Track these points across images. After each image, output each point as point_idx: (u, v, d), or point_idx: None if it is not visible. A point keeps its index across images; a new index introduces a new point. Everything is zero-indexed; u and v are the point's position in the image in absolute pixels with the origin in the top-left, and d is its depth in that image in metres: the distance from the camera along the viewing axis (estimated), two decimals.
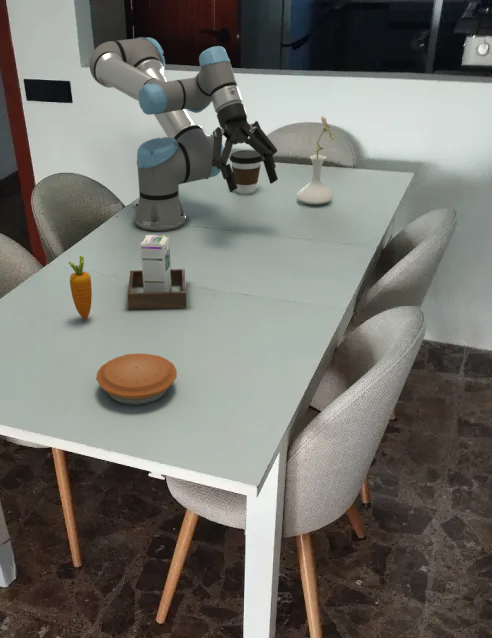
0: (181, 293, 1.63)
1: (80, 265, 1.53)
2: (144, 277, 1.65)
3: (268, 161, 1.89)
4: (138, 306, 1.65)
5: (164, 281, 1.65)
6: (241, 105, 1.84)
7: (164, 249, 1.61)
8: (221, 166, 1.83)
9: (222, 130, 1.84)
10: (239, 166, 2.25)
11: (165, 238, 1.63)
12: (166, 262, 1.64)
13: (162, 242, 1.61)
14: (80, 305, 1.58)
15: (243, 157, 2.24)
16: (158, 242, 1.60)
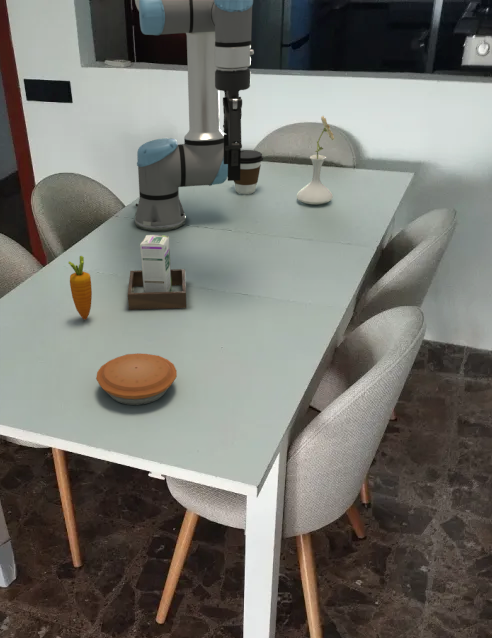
0: (181, 293, 1.63)
1: (80, 265, 1.53)
2: (144, 277, 1.65)
3: None
4: (138, 306, 1.65)
5: (164, 281, 1.65)
6: None
7: (164, 249, 1.61)
8: (236, 150, 1.49)
9: None
10: None
11: (165, 238, 1.63)
12: (166, 262, 1.64)
13: (162, 242, 1.61)
14: (80, 305, 1.58)
15: (243, 156, 2.24)
16: (158, 242, 1.60)
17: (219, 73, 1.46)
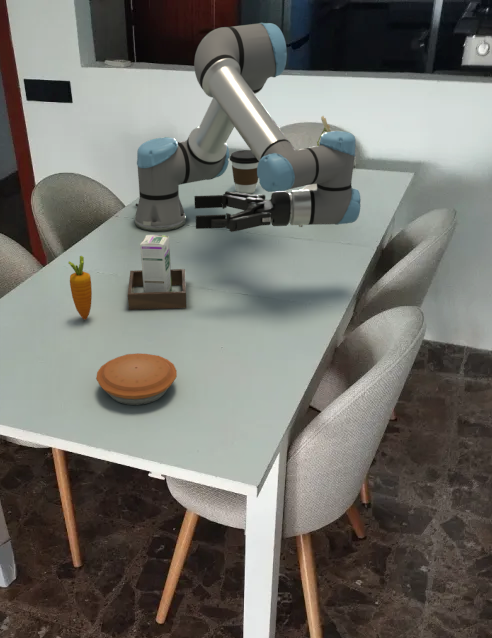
0: (181, 293, 1.63)
1: (80, 265, 1.53)
2: (144, 277, 1.65)
3: (217, 205, 1.64)
4: (138, 306, 1.65)
5: (164, 281, 1.65)
6: None
7: (164, 249, 1.61)
8: (226, 225, 1.52)
9: None
10: (239, 166, 2.25)
11: (165, 238, 1.63)
12: (166, 262, 1.64)
13: (162, 242, 1.61)
14: (80, 305, 1.58)
15: (243, 156, 2.24)
16: (158, 242, 1.60)
17: (288, 198, 1.55)
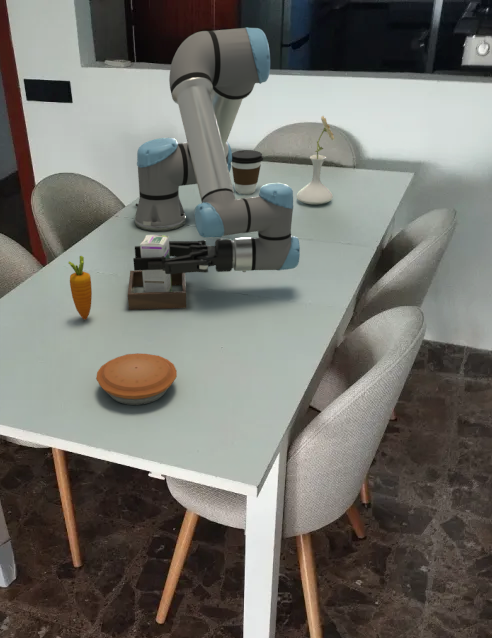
0: (181, 293, 1.63)
1: (80, 265, 1.53)
2: (144, 277, 1.65)
3: None
4: (138, 306, 1.65)
5: (164, 281, 1.65)
6: None
7: (164, 249, 1.61)
8: (162, 267, 1.61)
9: None
10: (239, 166, 2.25)
11: (165, 238, 1.63)
12: None
13: (162, 242, 1.61)
14: (80, 305, 1.58)
15: (243, 156, 2.24)
16: (158, 242, 1.60)
17: (230, 246, 1.61)
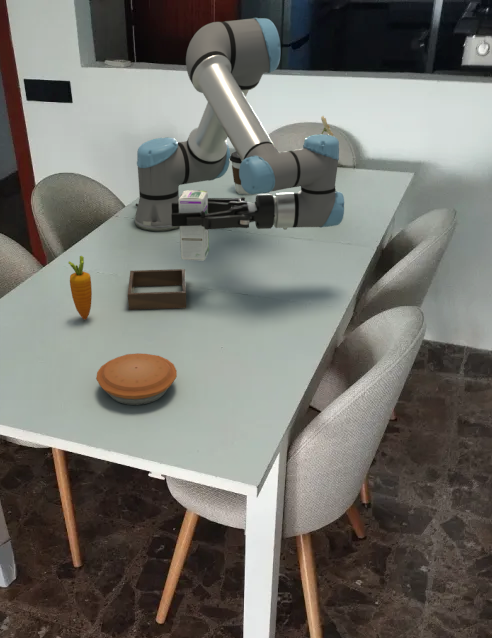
0: (181, 293, 1.63)
1: (80, 265, 1.53)
2: (181, 234, 1.59)
3: None
4: (138, 306, 1.65)
5: (202, 238, 1.59)
6: None
7: (203, 204, 1.55)
8: (201, 222, 1.55)
9: None
10: (239, 166, 2.25)
11: (204, 193, 1.57)
12: None
13: (201, 196, 1.55)
14: (80, 305, 1.58)
15: None
16: (197, 196, 1.54)
17: (272, 201, 1.55)
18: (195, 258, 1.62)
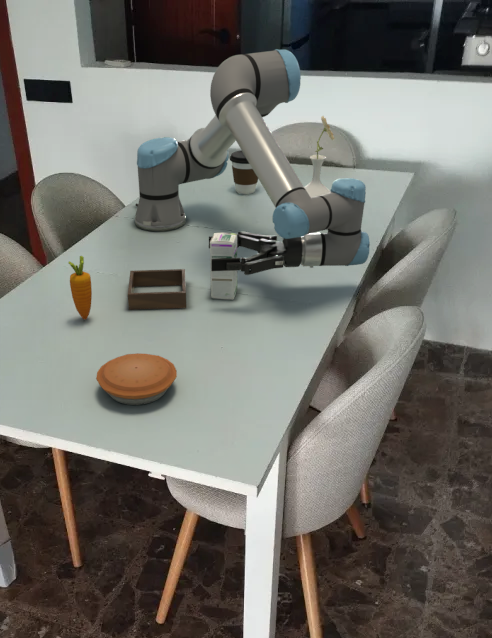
0: (181, 293, 1.63)
1: (80, 265, 1.53)
2: (212, 275, 1.65)
3: None
4: (138, 306, 1.65)
5: (232, 279, 1.65)
6: None
7: (234, 247, 1.61)
8: (240, 268, 1.58)
9: None
10: (239, 166, 2.25)
11: (234, 236, 1.62)
12: None
13: (232, 240, 1.60)
14: (80, 305, 1.58)
15: (243, 156, 2.24)
16: (228, 240, 1.60)
17: (300, 241, 1.61)
18: (224, 297, 1.68)
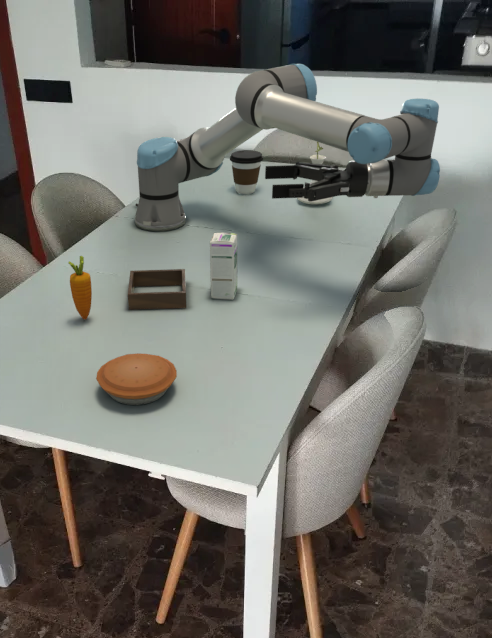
0: (181, 293, 1.63)
1: (80, 265, 1.53)
2: (212, 275, 1.65)
3: (288, 175, 1.60)
4: (138, 306, 1.65)
5: (232, 279, 1.65)
6: None
7: (234, 247, 1.61)
8: (304, 194, 1.48)
9: None
10: (239, 166, 2.25)
11: (234, 236, 1.62)
12: (235, 260, 1.63)
13: (232, 240, 1.60)
14: (80, 305, 1.58)
15: (243, 156, 2.24)
16: (228, 240, 1.60)
17: (366, 168, 1.51)
18: (224, 297, 1.68)
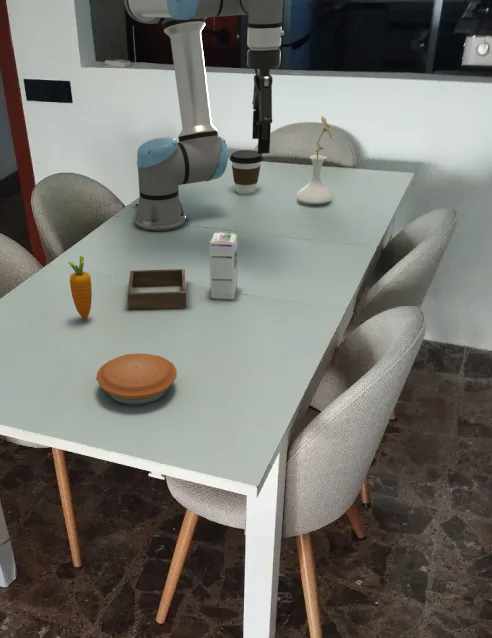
0: (181, 293, 1.63)
1: (80, 265, 1.53)
2: (212, 275, 1.65)
3: None
4: (138, 306, 1.65)
5: (232, 279, 1.65)
6: None
7: (234, 247, 1.61)
8: (266, 125, 1.61)
9: None
10: (239, 166, 2.25)
11: (234, 236, 1.62)
12: (235, 260, 1.63)
13: (232, 240, 1.60)
14: (80, 305, 1.58)
15: (243, 156, 2.24)
16: (228, 240, 1.60)
17: (252, 52, 1.58)
18: (224, 297, 1.68)
